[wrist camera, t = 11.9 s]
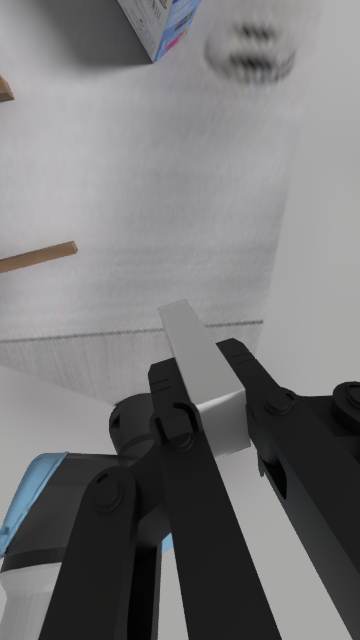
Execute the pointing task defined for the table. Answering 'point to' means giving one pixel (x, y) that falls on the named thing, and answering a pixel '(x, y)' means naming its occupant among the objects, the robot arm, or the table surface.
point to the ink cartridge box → (159, 22)
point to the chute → (3, 93)
